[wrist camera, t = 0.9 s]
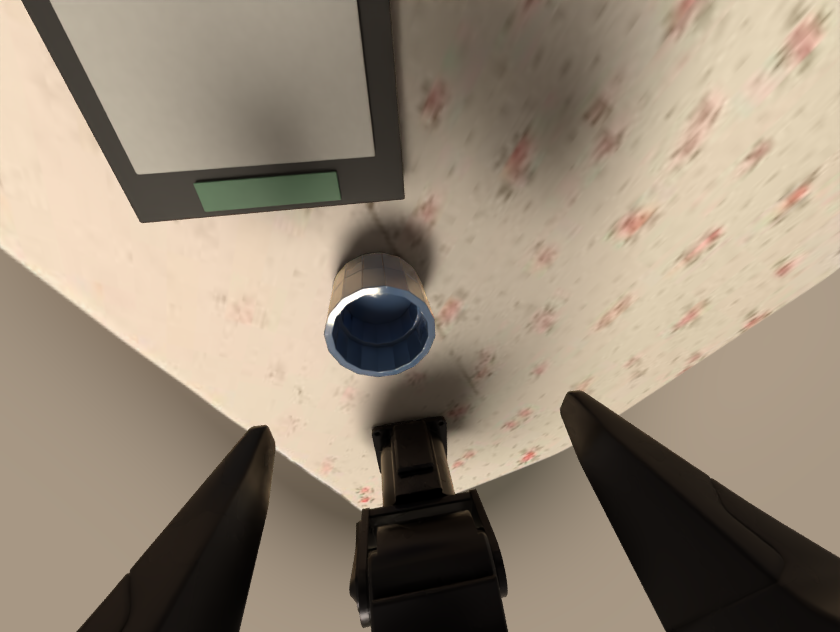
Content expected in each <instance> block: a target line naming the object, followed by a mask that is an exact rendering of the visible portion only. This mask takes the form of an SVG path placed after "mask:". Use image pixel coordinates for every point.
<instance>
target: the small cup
mask: <svg viewBox="0 0 840 632" xmlns="http://www.w3.org/2000/svg"><path fill="white" fill-rule="evenodd" d="M324 336H325V340H326V343H327V347H328V351H329V352H330V353H331V355H332V356H333V357H334V358H335V359H336V360H337V361H338V363H339V364H340V365H342V366H343V367H345V368H347V369H349V370H351V371H353V372H355V373H357V374H361V375H367V376H374V377H382V376H389V375H396V374H399V373H401V372H403V371H405V370H407V369H410V368H412V367H414V366H415V365H416V364H417V363H418V362H419V361H421V360H422V359H423V358H424V357H425V356H426V355H427V354H428V352H429V350H430V348H431V345H432V343H433V341H434V339H435V319H434V316H433V313H432V311H431V308H430V305H429V302H428V299H427V297H426V294H425V291H424V288H423V285H422V283H421V280H420V278H419V277H418V275H417V273H416V271H415V269H414V268H413V267H412V266H411V265H409V264H408V263H407V262H405V261H404V260H403V259H402V258H400V257H397V256H394V255H390V254H386V253H383V252H382V253H381V252H380V253H370V254H363V255H361V256H359V257H357V258H355V259H353V260H351V261H349V262H348V263H346V264H345V265H344V267H343V268H342V269H341V270H340V272H339V273H338V274H337V275H336V278H335V281H334V285H333V290H332V294H331V300H330V305H329V310H328V315H327V320H326V325H325V330H324Z"/></svg>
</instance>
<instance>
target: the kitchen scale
mask: <svg viewBox="0 0 840 632" xmlns="http://www.w3.org/2000/svg"><path fill="white" fill-rule="evenodd" d="M21 1H22V2H23V4H24V6H25V8H26V10H27V12H28V14H29V16H30V17H31V19H32V21H33V23H34V25H35V27H36V29H37V30H38V32H39V34H40V36H41V38H42V40H43V42H44V44H45V45H46V47H47V49H48V51H49V53H50V55H51V57H52V58H53V60H54V62H55V64H56V66H57V68H58V70H59V71H60V73H61V75H62V77H63V79H64V81H65V83H66V85H67V86H68V88H69V90H70V92H71V94H72V96H73V98H74V99H75V101H76V103H77V105H78V107H79V109H80V111H81V113H82V114H83V116H84V118H85V120H86V122H87V124H88V126H89V127H90V129H91V131H92V133H93V135H94V137H95V139H96V140H97V142H98V144H99V146H100V148H101V150H102V152H103V154H104V155H105V157H106V159H107V161H108V163H109V165H110V167H111V168H112V170H113V172H114V174H115V176H116V178H117V180H118V182H119V183H120V185H121V187H122V189H123V191H124V193H125V195H126V196H127V198H128V200H129V202H130V204H131V206H132V208H133V210H134V211H135V213H136V215H137V217H138V219H139V221H140V222H141V223H149V222H160V221H171V220H182V219H193V218H204V217H215V216H226V215H237V214H248V213H259V212H270V211H281V210H292V209H303V208H314V207H325V206H336V205H347V204H358V203H369V202H380V201H391V200H402V199H404V198H405V193H404V180H403V167H402V155H401V142H400V129H399V116H398V104H397V91H396V78H395V65H394V53H393V40H392V27H391V14H390V2H389V0H21Z"/></svg>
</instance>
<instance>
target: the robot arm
mask: <svg viewBox="0 0 840 632" xmlns="http://www.w3.org/2000/svg"><path fill="white" fill-rule="evenodd" d="M560 413H561V417H562V419H563V422H564V424H565V427H566V429H567V432H568V435H569V437H570V440H571V442H572V445H573V447H574V450H575V452H576V455H577V457H578V460H579V462H580V464H581V466H582V468H583V470H584V472H585V474H586V476H587V478H588V480H589V482H590V484H591V486H592V487H593V490H594V492H595V494H596V495H597V497H598V499H599V501H600V503H601V505H602V507H603V509H604V511H605V513H606V515H607V517H608V519H609V521H610V523H611V525H612V526H613V529H614V531H615V533H616V535H617V537H618V538H619V540H620V543H621V545H622V546H623V548H624V550H625V552H626V554H627V556H628V558H629V560H630V562H631V564H632V566H633V568H634V570H635V572H636V574H637V576H638V578H639V580H640V582H641V584H642V586H643V588H644V590H645V592H646V593H647V595H648V597H649V599H650V601H651V603H652V605H653V607H654V609H655V611H656V613H657V615H658V617H659V619H660V621H661V623H662V625H663V627H664V629H665V631H666V632H840V558H839V557H837V556H836V555H834V554H832V553H831V552H829V551H827V550H826V549H824V548H822V547H821V546H819V545H817V544H816V543H814V542H812V541H811V540H809V539H807V538H806V537H804V536H802V535H801V534H799V533H797V532H796V531H794V530H793V529H791V528H789V527H788V526H786V525H784V524H782V523H781V522H779V521H778V520H776V519H774V518H773V517H771V516H770V515H768V514H766V513H765V512H763V511H761V510H760V509H758V508H757V507H755V506H754V505H752V504H750V503H749V502H747V501H746V500H744V499H743V498H741V497H740V496H738V495H737V494H735V493H734V492H732V491H730V490H729V489H728V488H726V487H725V486H723V485H721V484H720V483H719V482H717V481H716V480H714V479H712V478H710V477H709V476H708V475H707V474H705V473H704V472H702V471H701V470H699V469H698V468H696V467H694V466H693V465H692V464H690V463H689V462H687V461H686V460H684V459H683V458H681V457H680V456H678V455H677V454H675V453H674V452H672V451H671V450H669V449H668V448H666V447H665V446H663V445H662V444H661V443H659V442H658V441H656V440H654V439H653V438H651V437H650V436H649V435H647V434H646V433H644V432H643V431H641V430H640V429H638V428H637V427H635V426H634V425H632V424H631V423H629V422H628V421H626V420H625V419H623V418H622V417H620V416H619V415H617V414H616V413H614V412H613V411H611V410H610V409H609V408H607V407H606V406H604V405H603V404H601V403H600V402H598V401H597V400H595V399H594V398H592V397H591V396H589V395H588V394H586V393H585V392H583V391H580V390H577V391H569V392H568V393H567V394H566V396H565V398H564V400H563V403H562V405H561V408H560ZM372 438H373V442H374V447H375V451H376V456H377V461H378V465H379V470H380V473H381V474H382V495H383V507H379V508H374V509H370V508H366V509H362V519H361V520H360V521H359V522H358V523H357V524H356V549H355V556H354V562H353V568H352V574H351V580H350V589H349V590H350V596H351V597H352V598H353V599H354V600H355V601H356V603H357V607H358V611H359V613H360V621H361V625H362V627H363V628H365V627H369V626H371V632H508V629H507V624H506V619H505V614H504V609H503V604H502V599H501V598H503V597H506V596H507V591H508V590H507V579H506V573H505V568H504V564H503V559H502V556H501V552H500V549H499V546H498V542H497V540H496V537H495V535H494V532H493V530H492V527H491V525H490V522H489V520H488V517H487V515H486V512H485V510H484V507H483V505H482V502H481V500H480V498H479V495H478V493H477V490H476V489H473V490H469V492H463V493H458V494H455V492H454V488H453V484H452V479H451V475H450V471H449V467H448V463H447V427H446V419H445V417H443V416H439V417H433V418H426V419H420V420H414V421H408V422H401V423H395V424H389V425H383V426H377V427H374V428H373V429H372ZM274 457H275V441H274V439H273V436H272V434H271V431H270V429H269V427H268V426H267V425H261V426H253V427H251V428H250V429H249V430H248V431H247V432H246V433H245V434H244V436H243V437H242V438H241V439H240V440H239V441H238V443H237V444H236V445H235V446H234V447H233V449H232V450H231V451H230V452H229V453H228V454H227V456H226V457H225V458H224V459H223V460H222V462H221V463H220V464H219V465H218V466H217V467H216V469H215V470H214V471H213V472H212V474H211V475H210V476H209V477H208V478H207V479H206V481H205V482H204V483H203V484H202V485H201V486H200V488H199V489H198V490H197V491H196V492H195V494H194V495H193V496H192V497H191V498H190V499H189V501H188V502H187V503H186V504H185V505H184V507H183V508H182V509H181V510H180V512H178V514H177V515H176V516H175V517H174V518H173V520H172V521H171V522H170V523H169V524H168V526H167V527H166V528H165V529H164V530H163V532H162V533H161V534H160V535H159V536H158V537H157V539H156V540H155V541H154V542H153V543H152V544H151V546H150V547H149V548H148V549H147V550H146V552H145V553H144V554H143V555H142V556H141V557H140V559H139V560H138V561H137V562H136V563H135V565H134V566H133V567H132V568H131V570H130V573H128V574H126V575H125V576H124V577H123V579H122V580H121V581H120V582H119V583H118V585H117V586H116V587H115V588H114V589H113V590H112V592H111V593H110V594H109V595H108V596H107V597H106V599H105V600H104V601H103V602H102V603H101V605H99V607H98V608H97V609H96V610H95V611H94V612H93V614H92V615H91V616H90V617H89V618H88V619H87V620H86V622H85V623H84V624H83V625H82V626H81V627H80V628H79V630H78V631H77V632H239V630H240V626H241V622H242V617H243V613H244V609H245V604H246V600H247V596H248V592H249V588H250V583H251V579H252V575H253V570H254V566H255V562H256V558H257V554H258V549H259V545H260V541H261V536H262V532H263V527H264V524H265V519H266V515H267V510H268V505H269V498H270V489H271V482H272V474H273V465H274Z"/></svg>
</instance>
